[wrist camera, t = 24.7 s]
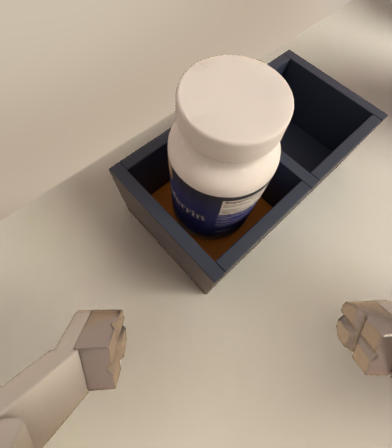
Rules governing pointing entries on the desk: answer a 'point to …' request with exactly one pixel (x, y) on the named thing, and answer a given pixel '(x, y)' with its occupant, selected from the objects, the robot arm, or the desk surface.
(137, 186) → the rack
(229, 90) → the pill bottle
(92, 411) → the desk surface
